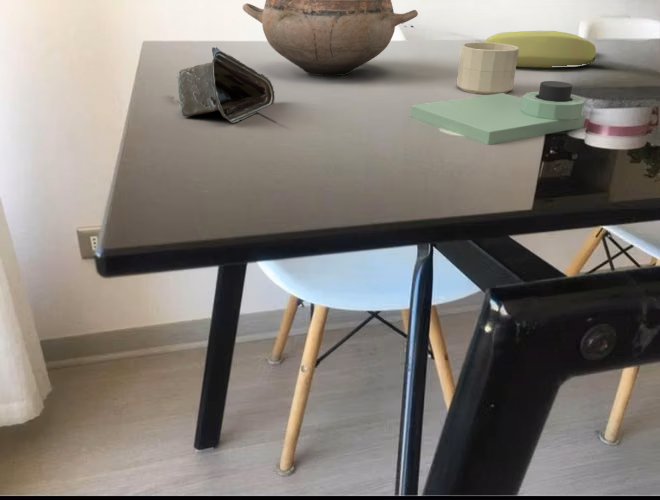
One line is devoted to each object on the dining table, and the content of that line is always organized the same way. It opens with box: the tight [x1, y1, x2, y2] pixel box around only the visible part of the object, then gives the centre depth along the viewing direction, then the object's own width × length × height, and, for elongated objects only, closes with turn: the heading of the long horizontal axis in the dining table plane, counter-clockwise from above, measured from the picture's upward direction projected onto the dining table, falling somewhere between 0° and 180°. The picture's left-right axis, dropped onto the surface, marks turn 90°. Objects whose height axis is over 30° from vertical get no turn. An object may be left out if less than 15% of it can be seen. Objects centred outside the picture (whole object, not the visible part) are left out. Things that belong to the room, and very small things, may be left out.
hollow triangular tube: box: [177, 46, 276, 123], centre depth 69 cm, size 10×7×12 cm
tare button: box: [538, 80, 574, 102], centre depth 66 cm, size 3×3×2 cm
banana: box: [483, 30, 597, 68], centre depth 102 cm, size 14×6×20 cm
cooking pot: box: [242, 0, 419, 77], centre depth 90 cm, size 25×19×12 cm
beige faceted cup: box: [456, 41, 519, 95], centre depth 82 cm, size 7×7×6 cm
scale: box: [409, 91, 587, 146], centre depth 67 cm, size 15×12×3 cm
